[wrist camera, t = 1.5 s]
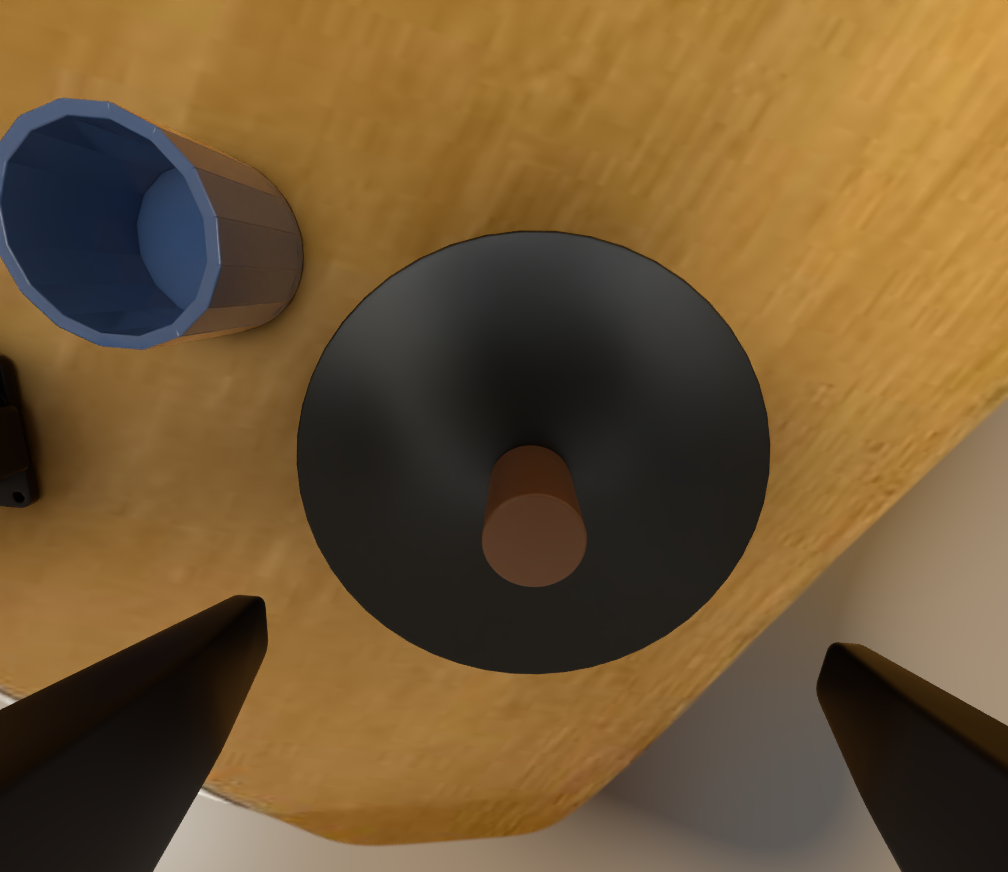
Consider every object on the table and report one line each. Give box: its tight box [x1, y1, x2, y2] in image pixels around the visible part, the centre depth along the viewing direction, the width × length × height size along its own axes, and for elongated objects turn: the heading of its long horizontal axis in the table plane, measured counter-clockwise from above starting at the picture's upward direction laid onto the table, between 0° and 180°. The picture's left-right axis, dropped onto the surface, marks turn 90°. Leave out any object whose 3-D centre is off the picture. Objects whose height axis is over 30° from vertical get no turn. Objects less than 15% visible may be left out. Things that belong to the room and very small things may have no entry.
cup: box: [0, 98, 303, 350], centre depth 16 cm, size 6×6×6 cm
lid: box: [297, 231, 770, 674], centre depth 13 cm, size 14×14×5 cm
